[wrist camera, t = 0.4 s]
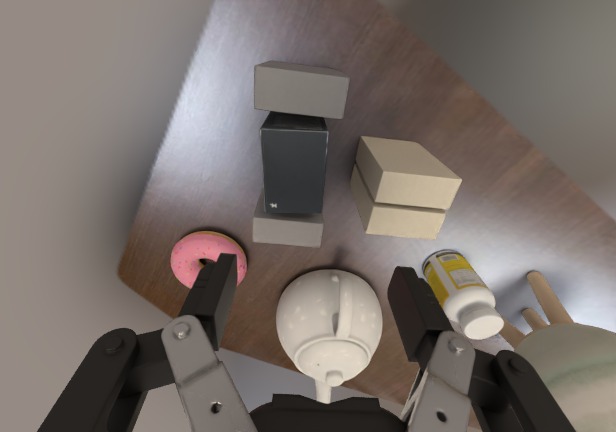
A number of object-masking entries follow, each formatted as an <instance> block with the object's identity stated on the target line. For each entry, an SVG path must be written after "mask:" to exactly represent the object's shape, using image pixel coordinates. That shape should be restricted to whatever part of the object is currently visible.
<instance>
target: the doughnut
mask: <svg viewBox="0 0 616 432" xmlns="http://www.w3.org/2000/svg"><path fill="white" fill-rule="evenodd" d="M171 253H172V255H171V263H170V265H171V267H172V270H173V272H174V276H176V279H178V280H179V281H180V282H182V283H183V284H184V285H185V286H187V287H189V288H192V286H193V284H194V282H195V280H196V277H197V275H198V273H199V271H200V269H202V268H203V267H204V266H205V265H203V264H202V263H201V262H200V261H199V259H201V258H203V259H204V258H205V259H206V258H207V259H210V261H211V260H214V261H216V262H217V259H218V257H219V254H220V253H230V254H236V255H237V272H238V281H237V286H238V285H239V283H240V282H241V281H242V279H243V280H244V276H245V274H246V271H247V262H246V257H245V254H244V252H243V250H242V248H241V247H240V246H239V245H238V244H237V243H236V242H235V241H234V240H233V239H231V238H230V237H228V236H226V235H224V234H221V233H217V232H213V231H199V232H194V233H191V234H189V235H187V236H185V237H184V238H183V239H181V240H180V241H178V242H177V243H176V245H174V248H173V250H172V252H171Z"/></svg>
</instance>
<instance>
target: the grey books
mask: <svg viewBox="0 0 616 432" xmlns="http://www.w3.org/2000/svg"><path fill="white" fill-rule="evenodd" d="M349 81H350V78H349V77H347V76H346V75H344V74H343V73H341V72H339V71H338V70H336V69H330V68H323V67H315V66H308V65H300V64H293V63H285V62H278V61H268V62H265V63H261V64H258V65H255V75H254V109H259V110H267V111H275V112H283V113H292V114H300V115H308V116H317V117H325V118H333V119H341V120H342V119H343V115H344V109H345V104H346V98H347V92H348V87H349ZM323 227H324V220H323V211H322V213H266V212H265V210H264V184H263V187H262V190H261V194H260V197H259V200H258V203H257V207H256V210H255V213H254V216H253V242H261V243H272V244H284V245H295V246H307V247H320V244H321V238H322V233H323Z"/></svg>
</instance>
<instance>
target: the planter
mask: <svg viewBox="0 0 616 432" xmlns="http://www.w3.org/2000/svg"><path fill="white" fill-rule="evenodd" d="M527 280H528V282H529V284H530V286H531V288H532V290H533V292H534V294H535V296H536V298H537V300H538V302H539V304H540V305H541V307H542V309H543V311H544V313H545V315H546V317H547V318H548V320H549V322H550V325H548V324H547V323H546V322H545V321H544V320H543V319H542V318H541V317H540V316H539V315H538V314H537V313H536V312H535V310H533V309H525V310H524V311H523V312H522V315H523V317H524V318H525V320H526V321H527V323H528V324H529V326H530V327H531V328H532V330H533V331H532V332H530V333H529V334H527V335H526V336H525V335H524V334H523V333H522V332H521V331H519V330H518V329H517V328H516V327H514V326H513V325H512V324H511V323H510V322H508V321H507V320H506V319H505V318H503V317H502V316H501V315H500V314H499V315H500V317H501V318H502V319H503V322H504V325H503V327H502V329H501V330H500V331H499V332H498V333H499V334H500V335H501V336H502V337H503V338H504V339H505V340H506V341H507V342H508V343H509V344H510V345H511V346H512V347H513V348H514V352H515V353H517V354H519V355H521V356H522V357H524V358H525V359H526V360H527V361H528V362H529V363H530V364H531V365H532V366H533V367H534V369H535V370H536V372H537V373H538V375H539V376H540V378H541V379H542V381H543V382H544V384H545V385H546V387H547V388H548V390H549V391H550V393H551V394H552V396H553V397H554V399H555V400H556V402H557V403H558V405H559V406H560V408H561V409H562V411H563V412H564V414H565V415H566V417H567V418H568V420H569V421H570V423H571V424H572V426H573V427H574V429H575V430H576V432H616V333H614V332H611V331H608V330H605V329H602V328H598V327H593V326H588V325H582V324H579V323H574V322H573V320H572V319H571V317H570V316H569V314H568V313H567V311H566V310H565V309H564V307H563V306H562V304H561V303H560V301H559V300H558V298H557V297H556V295H555V294H554V292H553V290H552V289H551V287H550V286H549V284H548V283H547V281H546V280H545V278H544V277H543V276H542V274H541V273H539V272H536V271H534V272H530V273H529V274H528V275H527Z"/></svg>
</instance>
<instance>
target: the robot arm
mask: <svg viewBox="0 0 616 432" xmlns="http://www.w3.org/2000/svg"><path fill="white" fill-rule="evenodd" d="M237 281H238V272H237V255H236V254H230V253H220V254H219V257H218V259H217V262H216V263H207V264H206V265H205V266H204V267H203V268H202V269H200V271H199V273H198V275H197V277H196V280H195V282H194V284H193V286H192V288H191V290H190V292H189V294H188V296H187V298H186V300H185V303H184V305H183V307H182V309H181V311H180V313H179V315H178V317H177V318H175V319H173V320H171V321H170V322H169V323H168V324H167V325H166V326H165V327H164V328H163V329H160V330H157V331H153V332H149V333H144V334H140V335H136V333H135V332H134V331H133V330H131V329H128V328H119V329H115V330H112V331H110V332H108V333H106V334H104V335H103V336H102V337H100V338H99V339H98V340H97V341H96V342H95V343H94V345H93V346H92V347H91V349H90V350H89V352H88V354H87V355H86V357H85V358H84V360H83V361H82V363H81V364H80V366H79V367H78V369H77V371H76V372H75V374H74V375H73V377H72V378H71V380H70V381H69V383H68V385H67V386H66V388H65V390H64V391H63V392H62V394H61V395H60V397H59V398H58V400H57V402H56V403H55V405H54V406H53V408H52V409H51V411H50V412H49V414H48V416H47V417H46V419H45V420H44V422H43V423H42V425H41V426H40V428H39V429H38V431H37V432H132V431H133V428H134V426H135V423H136V421H137V418H138V415H139V413H140V411H141V408H142V406H143V403H144V401H145V398H146V396H147V393H148V391H149V390H151V389H155V388H158V387H161V386H165V385H169V384H172V383H175V384H176V387H177V390H178V393H179V396H180V399H181V402H182V405H183V408H184V411H185V414H186V417H187V420H188V423H189V426H190V429H191V432H467V426H468V421H469V415H470V410H471V405H472V407H473V409H474V412H475V414H476V417H477V419H478V421H479V424H480V426H481V429H482V431H483V432H576V430H575V429H574V427H573V426H572V424H571V423H570V421H569V420H568V418H567V417H566V415H565V414H564V412H563V411H562V409H561V408H560V406H559V405H558V403H557V402H556V400H555V399H554V397H553V396H552V394H551V393H550V391H549V390H548V388H547V387H546V385H545V384H544V382H543V381H542V379H541V378H540V376H539V375H538V373H537V372H536V370H535V369H534V367H533V366H532V365H531V364H530V363H529V362H528V361H527V360H526V359H525V358H524V357H522V356H521V355H519V354H517V353H515V352H513V351H510V350H501V351H499V352H498V353H497V355H496V356H494V355H492V354H489V353H486V352H483V351H480V350H477V349H475V348H473V346H472V345H471V343H470V342H469V341H468V340H467V339H466V338H465V337H463V336H462V335H460V334H458V333H456V332H455V331H454V329H453V327H452V326H451V324H450V322H449V320H448V318H447V316H446V314H445V312H444V310H443V309H442V307H441V305H440V304H439V301H438V299H437V297H435V294H434V292H433V290H432V288H431V286H430V285H429V284H428V283H427V282H426V281H425V280H424V279H423V278H418V276H417V274H416V272H415V270H414V269H413V268H412V267H400V266H397V267H396V268H395V270H394V273H393V276H392V279H391V281H390V284H389V287H388V300H389V303H390V306H391V309H392V312H393V315H394V318H395V321H396V324H397V327H398V330H399V333H400V336H401V339H402V342H403V345H404V348H405V351H406V354H407V357H408V360H409V362H418V363H419V366H420V369H419V370H418V373H417V375H416V378H415V381H414V383H413V386H412V388H411V391H410V394H409V396H408V399H407V401H406V404H405V406H404V409H403V411H402V413H401V415H400V417H399V418H398V417H397V416H396V415H394V414H393V413H391V412H390V411H388V410H385V409H384V408H381V407H380V404H379V400H378V398H364V397H351V398H347V399H344V400H340V401H336V402H332V403H328V404H326V403H322V402H319V401H316V400H313V399H310V398H307V397H304V396H301V395H292V394H273V399H272V402H270V403H266V404H264V405H261V406H259V407H258V408H256V409H254V410H253V411H251V412H250V413H248V411H247V409H246V407H245V405H244V403H243V401H242V399H241V397H240V395H239V393H238V391H237V389H236V387H235V385H234V383H233V381H232V379H231V377H230V375H229V373H228V371H227V369H226V367H225V365H224V363H223V362H222V361H219V359H218V358H217V356H216V353H215V351H218V350H219V347H220V344H221V340H222V337H223V333H224V330H225V326H226V323H227V319H228V316H229V312H230V309H231V305H232V302H233V298H234V295H235V291H236V287H237ZM511 407H512V408H511ZM512 409H513V410H512ZM515 414H516V415H515ZM516 416H517V417H516ZM517 418H518V419H517ZM518 420H519V421H518ZM519 422H520V423H519ZM520 424H521V425H520ZM521 426H522V427H521ZM522 428H523V429H522Z"/></svg>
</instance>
